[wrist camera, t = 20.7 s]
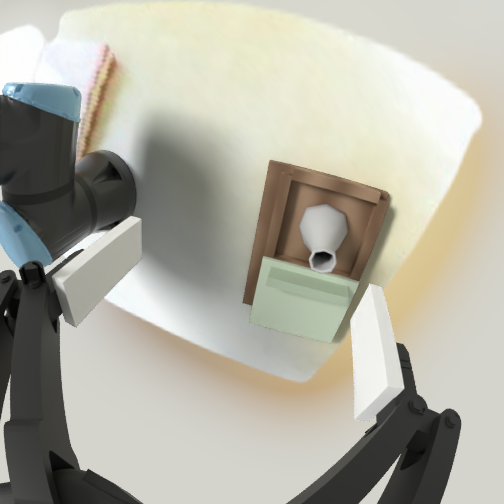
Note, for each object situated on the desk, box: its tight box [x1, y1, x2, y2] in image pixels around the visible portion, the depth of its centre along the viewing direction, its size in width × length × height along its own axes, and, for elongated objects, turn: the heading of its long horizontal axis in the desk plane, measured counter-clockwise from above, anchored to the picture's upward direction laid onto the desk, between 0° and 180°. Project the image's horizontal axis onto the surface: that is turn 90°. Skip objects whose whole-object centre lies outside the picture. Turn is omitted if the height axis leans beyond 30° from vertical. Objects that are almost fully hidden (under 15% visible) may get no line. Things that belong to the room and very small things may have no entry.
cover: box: [249, 256, 359, 343], centre depth 43 cm, size 15×14×4 cm
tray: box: [243, 160, 389, 305], centre depth 41 cm, size 17×25×2 cm
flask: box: [299, 204, 348, 274], centre depth 35 cm, size 7×7×10 cm
